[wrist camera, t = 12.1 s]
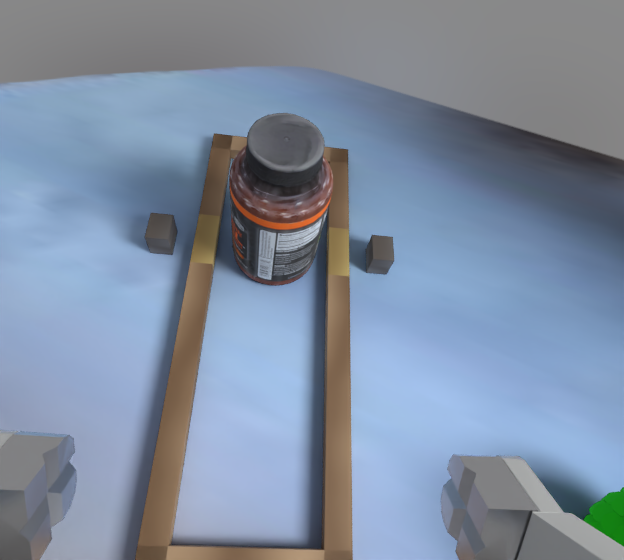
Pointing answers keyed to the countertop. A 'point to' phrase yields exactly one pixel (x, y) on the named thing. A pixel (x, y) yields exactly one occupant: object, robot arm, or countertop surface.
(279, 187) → the supplement bottle
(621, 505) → the ornament
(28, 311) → the countertop surface
